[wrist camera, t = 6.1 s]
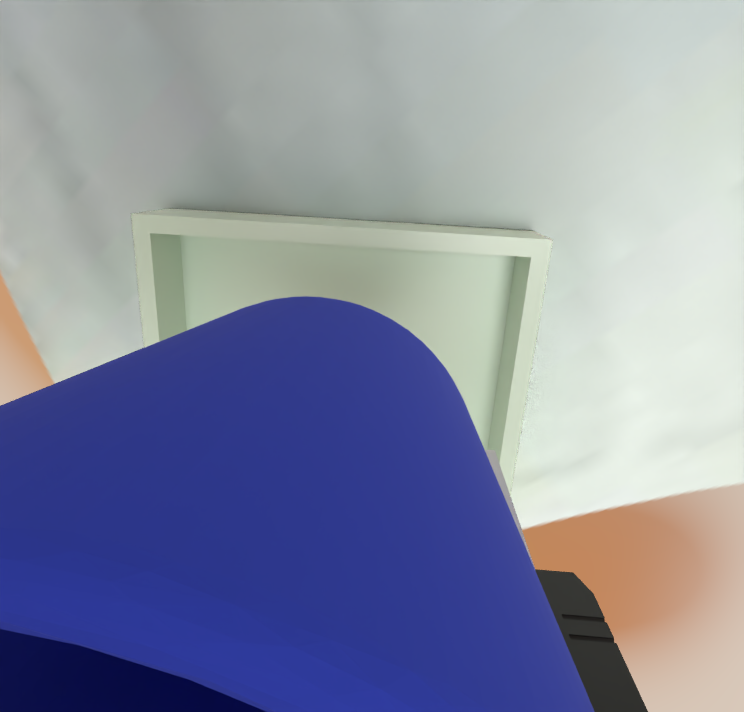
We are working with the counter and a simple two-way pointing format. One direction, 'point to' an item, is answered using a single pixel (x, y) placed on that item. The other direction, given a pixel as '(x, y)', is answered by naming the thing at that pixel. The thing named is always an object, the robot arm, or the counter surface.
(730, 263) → the counter surface
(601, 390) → the counter surface
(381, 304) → the tray
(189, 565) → the mug
